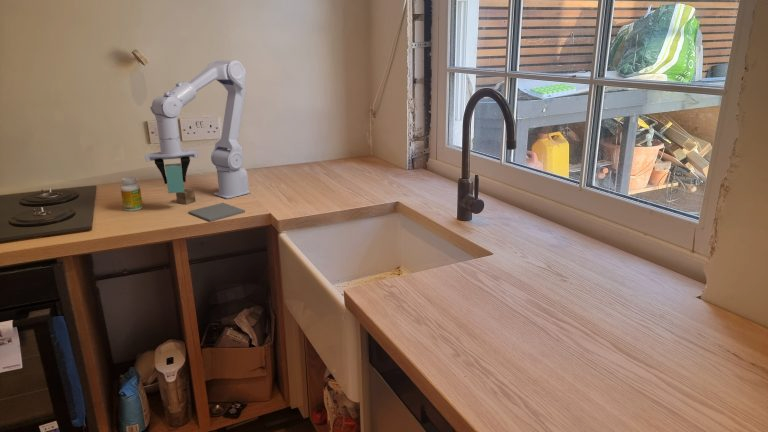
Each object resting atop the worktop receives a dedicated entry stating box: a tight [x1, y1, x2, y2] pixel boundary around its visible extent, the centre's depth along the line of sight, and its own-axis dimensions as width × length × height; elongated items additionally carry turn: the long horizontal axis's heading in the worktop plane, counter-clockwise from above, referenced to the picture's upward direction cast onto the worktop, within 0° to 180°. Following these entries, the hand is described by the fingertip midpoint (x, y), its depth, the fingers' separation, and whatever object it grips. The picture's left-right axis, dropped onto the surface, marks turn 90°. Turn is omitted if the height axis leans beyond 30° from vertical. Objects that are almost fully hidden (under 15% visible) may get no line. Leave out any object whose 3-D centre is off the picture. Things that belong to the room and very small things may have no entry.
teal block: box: [164, 162, 185, 194], centre depth 159 cm, size 4×4×8 cm
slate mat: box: [188, 202, 246, 222], centre depth 158 cm, size 12×12×1 cm
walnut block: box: [175, 188, 197, 206], centre depth 168 cm, size 4×4×4 cm
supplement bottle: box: [120, 176, 143, 212], centre depth 161 cm, size 5×5×10 cm
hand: (175, 182), depth 159 cm, fingers closed on teal block, 5 cm apart
